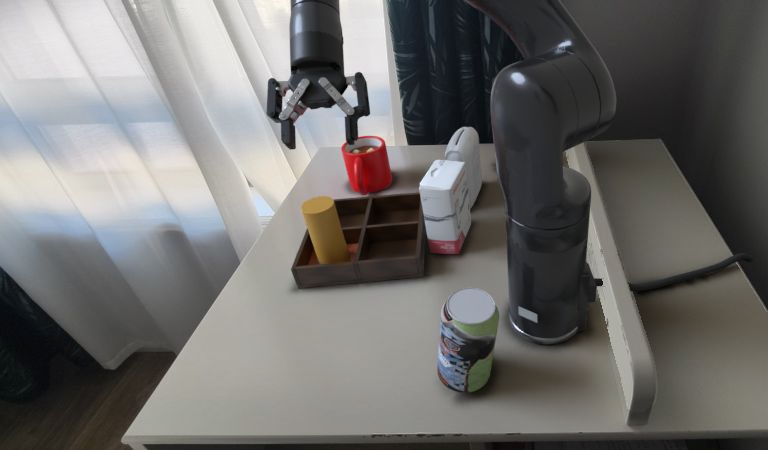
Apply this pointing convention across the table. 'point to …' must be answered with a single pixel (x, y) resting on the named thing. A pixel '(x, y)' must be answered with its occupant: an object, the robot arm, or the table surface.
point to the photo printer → (467, 158)
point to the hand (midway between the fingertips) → (320, 145)
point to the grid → (370, 243)
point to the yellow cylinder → (325, 230)
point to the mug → (367, 164)
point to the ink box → (446, 206)
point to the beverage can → (467, 339)
